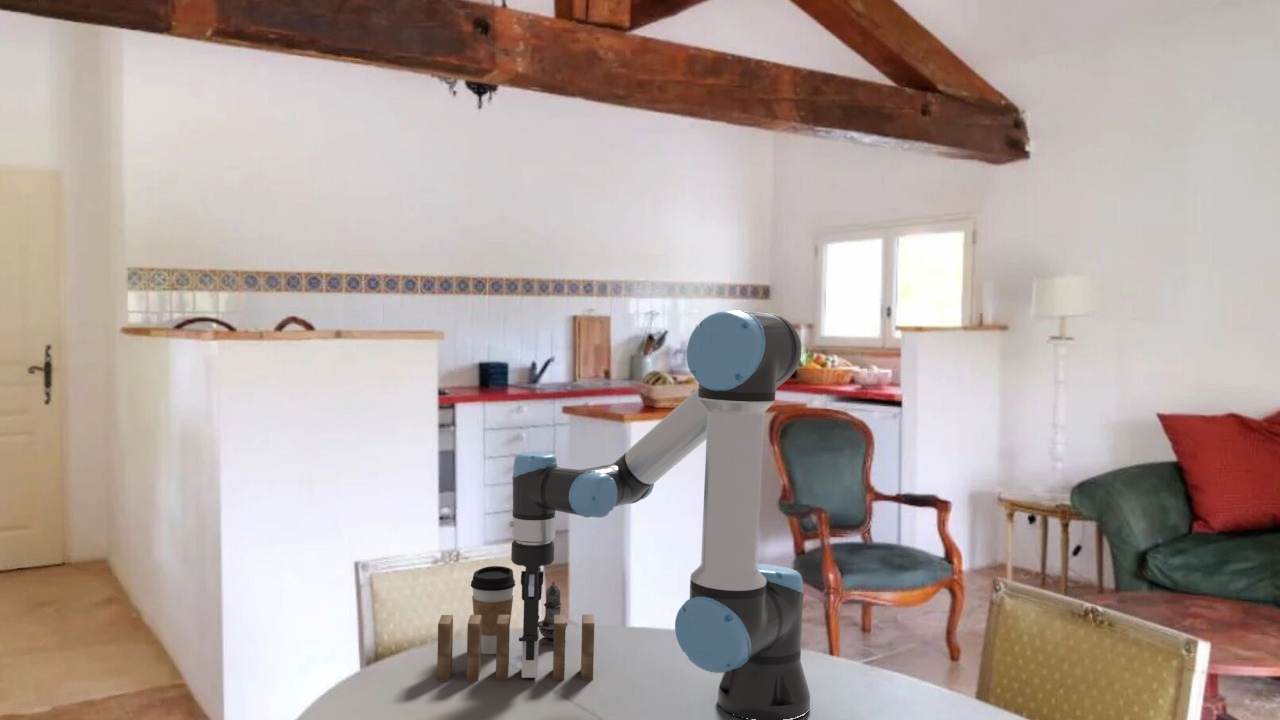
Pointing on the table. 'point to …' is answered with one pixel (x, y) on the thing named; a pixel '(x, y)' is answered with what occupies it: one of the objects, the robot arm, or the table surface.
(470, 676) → the domino
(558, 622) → the domino
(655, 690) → the table surface
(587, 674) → the domino
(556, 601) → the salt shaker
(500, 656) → the domino
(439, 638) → the domino
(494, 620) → the coffee cup
